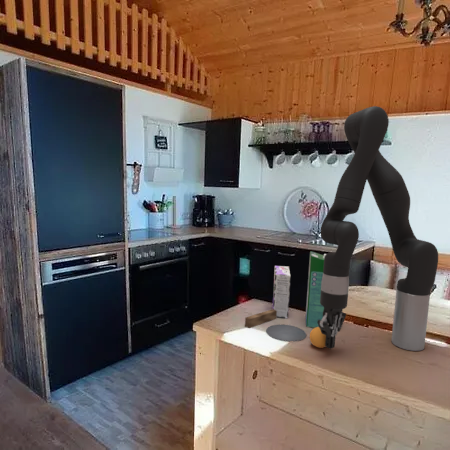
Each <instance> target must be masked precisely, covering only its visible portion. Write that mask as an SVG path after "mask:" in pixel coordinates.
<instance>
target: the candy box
mask: <svg viewBox="0 0 450 450" xmlns="http://www.w3.org/2000/svg"><path fill="white" fill-rule="evenodd" d="M273 273H274V274H273V294H272V296H273V297H272V309H273V310H276V311H277V314H276V319H277V318H279V319H288V318H289V309H290V308H289V306H290V293H291V292H290V291H291V271H290V266H285V265H274V272H273Z"/></svg>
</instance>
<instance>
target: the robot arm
mask: <svg viewBox="0 0 450 450" xmlns="http://www.w3.org/2000/svg"><path fill="white" fill-rule="evenodd" d="M389 123H390V121H389V115H388V114H387V111H386V110H385V109H384V108H382V107H380V106H375V105H373V106H369V107H366V108H364V109H360V110H358V111H356V112H353V113H352V114H350V115H348V116H347V118H346V119H345V121H344V125H343V129H344V134H345V138H346V139H347V141H348V143H349V146H350V147H351V149H352V151H353V152H354V154H353V156H352V158H351V160H350V162H349V164H348V165H347V167H346V169H345V170H344V171H343V174H342V175H341V177H340V180H339V182H338V185H337V188H336V192H335V196H334V200H333V203H332V205H331V207H330V208H329V210H328V212H327V213H326V215H325V217H324V219H323V221H322V223H321V225H320V237H321V239H322V241H323V242H325V243H326V244H329V245H330V244H331V245H335V246H337V248H336V251H335V252H328V253H325V254H326V255H325V258H324V268H323V277H322V282H321V295H320V304H321V305H322V306H323V307H324V310H323V318H322V320H318V321H317V323H318V326H319V328H320V330H321V333H322V334H324V335H326V342H325V348H327V349H329V350H332V349H333V348H335V346H336V345H335V344H336V336H337V335H338V332H341V329H342V327H343V325H344V321H345V320H346V316H347V313H346V312H343V310H344V309H346V308H347V307H348V300H349V299H348V298H349V289H350V288H349V287H350V279H349V278H350V263H351V260H352V259H353V258H352V257H353V255H354V252H355V249H356V246H357V245H358V242H359V239H360V232H359V228H358V226H357V225H356V223H354V222H352V221H347V220H345V218H347V216H349V215H353V214H357V213H358V212H359V209H360V206H361V202H362V199H363V194H364V192H365V187H366V184H367V183H368V185H369V188H370V191H371V194H372V196H373V198H374V201H375V204H376V206H377V208H378V211H379V212H380V216H381V218H382V220H383V223H384V225H385V227H386V231H387V233H388V236H389V240H390V243H391V247H392V251H393V254H394V257H395V258H396V260H397V262H398V263H399V264H400V265H402V266H403V267H405V268H407V272H406V276H405V277H404V278H400V279H398V280H397V283H396V288H395V289H396V290H395V291H396V292H395V302H394V311H393V322H392V329H391V330H392V332H391V343H392V345H394V346H395V347H398V348H400V349H403V350H408V351H414V352H419V351H420V352H421V351H423V350H425V343H426V335H427V325H428V320H429V319H428V318H429V317H428V315H429V307H430V300H431V299H430V297H431V291H432V288H433V287H434V284H435V282H436V277H437V272H438V271H437V270H438V265H439V250H438V249H437V247H436V246H435V245H434V243H432V242H429V241H425V240H423V239H422V240H421V239H418V238H417V237H416V235H415V233H414V231H413V228H412V227H411V223H410V217H409V216H410V210H411V195H410V192H409V190H408V187H407V185H406V182H405V180H404V178H403V175H401V173H400V172H399V171H398V169H396V167H394V165H393V164H391V163H390V162H389V161H388V160H387V158H385V157H384V155H383V154H382V153H381V152H380V148H381V147H382V146H381V145H382V144H383V141H384V138H385V137H386V135H387V132H388V128H389Z"/></svg>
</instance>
